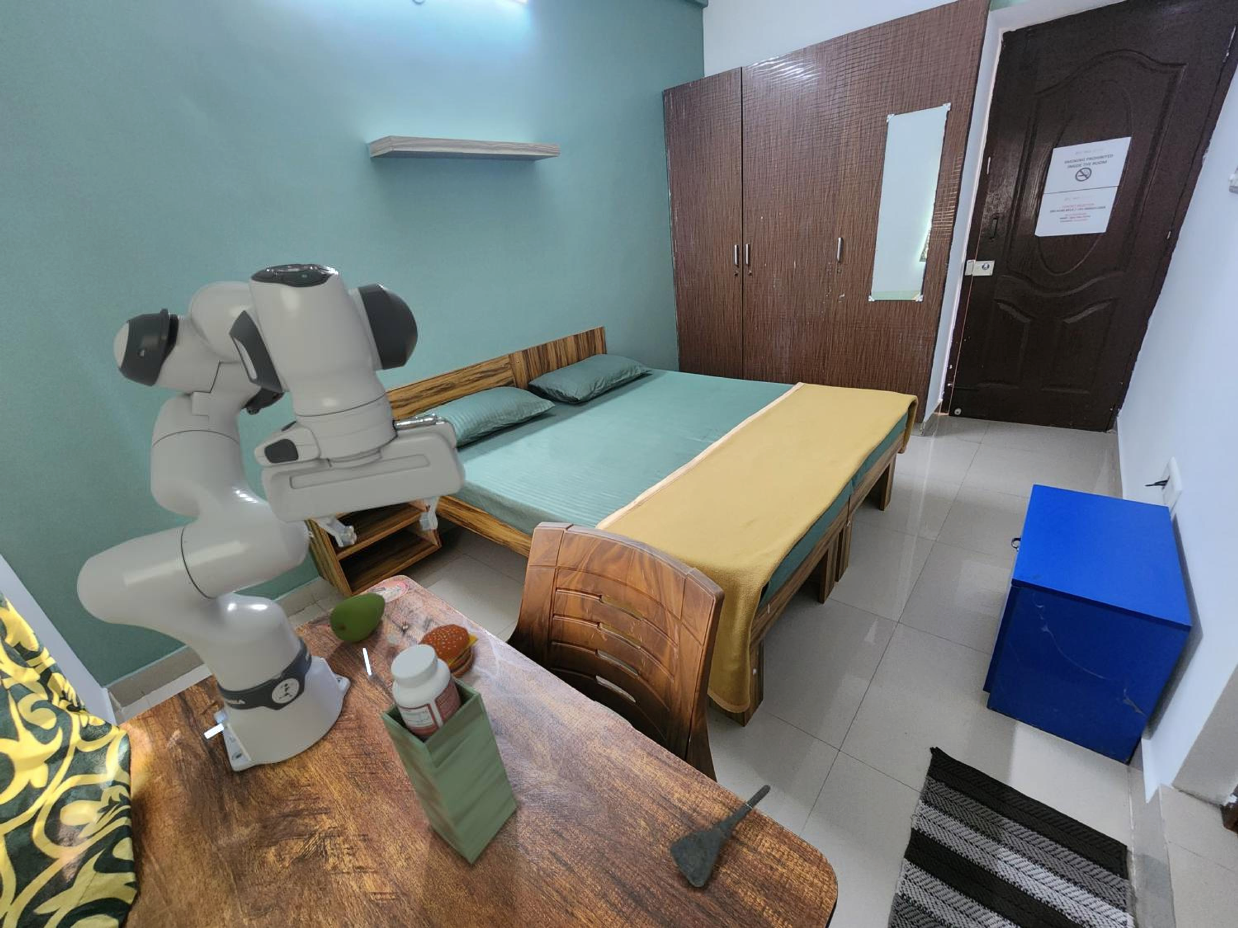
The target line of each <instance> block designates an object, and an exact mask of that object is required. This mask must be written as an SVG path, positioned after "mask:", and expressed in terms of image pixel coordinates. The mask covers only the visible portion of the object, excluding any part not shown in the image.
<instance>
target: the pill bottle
mask: <svg viewBox="0 0 1238 928" xmlns="http://www.w3.org/2000/svg"><path fill="white" fill-rule="evenodd" d="M390 672H391V675H392V678H393V679H394V680H393V683H392V687H391V693H392V697H393V700H394V702H395V703H396V704H397V706H398V708H399V711H400V713H401V715H402V717H403V720H404V722H405V724H406V726H407V729H408V731H409V732H410V733H411V734H412V735H414V736H415V737H416V738H418V739H419V740H420V741H421V742H423V743H425V742H426V741H427V740H428V739H429V738H430V737H431V736H432V735H433V734H434V733H435V732H436V731H437V730H438V729H439V728H440V727H441V726H442V725H443V724H444V723H445V722H447V721H448V720H449V719H450V718H451V717H452V716H453V715H454V714H455V713H456V712H457V711H458V710H459V709H460V708H461V707H462V706H463V705H462V703H461V700H460V697H459V695H458V692H457V689H456V686H455V684H454V681H453V678H452V675H451V673H450V670H449V668H448V666H447V664H446V663H445V662H444V661H443V660H441V659H439V658H438V657H437V655H436V653H435V650H434V649H433V648H432V647H431V646H429V645H425V644H420V645H419V644H416V645H412V646H410V647H407V648H406V649H404V650H402V651H401V652H400V653H399V654H397V656H396V657H395V658H394V659H393V661H392V663H391V666H390Z"/></svg>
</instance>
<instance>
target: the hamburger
mask: <svg viewBox="0 0 1238 928" xmlns="http://www.w3.org/2000/svg"><path fill="white" fill-rule="evenodd" d="M478 641H479V638H477V637H476V636H474V634H471V633H469V631H468V629H467V628H466V627H464V626H460V625H458V624H454V623H451V624H444V625H439V626H437V627H435V628H434V629H432V630H431V631H428V632H427V633H426V634H424V635H423V637H422V639H421V640H420V641H419V643H418V645H420V644H425V645H429V646H431V647H432V648H433V649H434V650H435V653H436V655H437V657H438V658H439V659H441V660H443V661H444V662H445V663H446V664H447V666H448V668H449V670H450V673H451V675H452V676H454V677H455V678H457V679H458V677H461V676H462V675H463V674H464V673H466V672H467V671H468V669H469V668H470V667H471V665H472V664H473V661H474V658H475V653H474V650H473V647H472V645H474V644H475V643H477V642H478Z"/></svg>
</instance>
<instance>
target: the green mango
mask: <svg viewBox="0 0 1238 928" xmlns="http://www.w3.org/2000/svg"><path fill="white" fill-rule="evenodd" d="M385 608H386V599H385V598H384V596H383V595H382V594H377V593H372V592H367V593H363V594H358V595H355V596H351V597H349V598H347V599H344V600H342V601H340V602H338V603H336V605H335V606H334V607H333V609H332V610H331V612H330V614H329V626H330V629H331V630H332V633H333V634H334V636H336V638H338V639H339V640H340V641H342V642H346V643H357V642H360V641H363V640H366V639H367V638H368V637H370V635H371V634H372V633H373V631H375V629H376V627H377V626H378V625H379V622H380V620H381V619H382V617H383V615H384V613H385Z"/></svg>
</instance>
